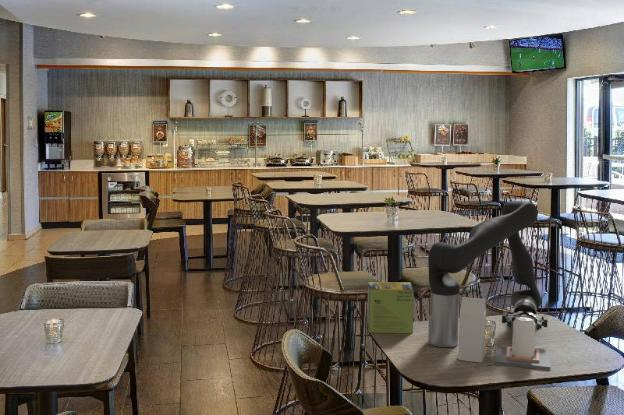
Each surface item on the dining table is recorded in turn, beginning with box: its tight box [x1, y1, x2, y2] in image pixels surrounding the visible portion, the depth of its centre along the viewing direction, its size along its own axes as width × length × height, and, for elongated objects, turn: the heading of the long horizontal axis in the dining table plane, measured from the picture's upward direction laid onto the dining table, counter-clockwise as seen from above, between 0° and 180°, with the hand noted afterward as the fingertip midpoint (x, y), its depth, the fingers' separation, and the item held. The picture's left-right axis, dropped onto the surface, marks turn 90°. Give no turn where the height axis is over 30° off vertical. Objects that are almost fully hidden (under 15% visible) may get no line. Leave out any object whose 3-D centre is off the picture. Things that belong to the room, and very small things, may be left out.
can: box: [511, 316, 536, 358], centre depth 212 cm, size 6×6×12 cm
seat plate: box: [493, 344, 551, 371], centre depth 214 cm, size 16×15×2 cm
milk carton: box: [457, 296, 487, 364], centre depth 213 cm, size 7×7×19 cm
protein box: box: [366, 281, 415, 334], centre depth 242 cm, size 10×15×16 cm
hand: (524, 325), depth 221 cm, fingers open, 8 cm apart
